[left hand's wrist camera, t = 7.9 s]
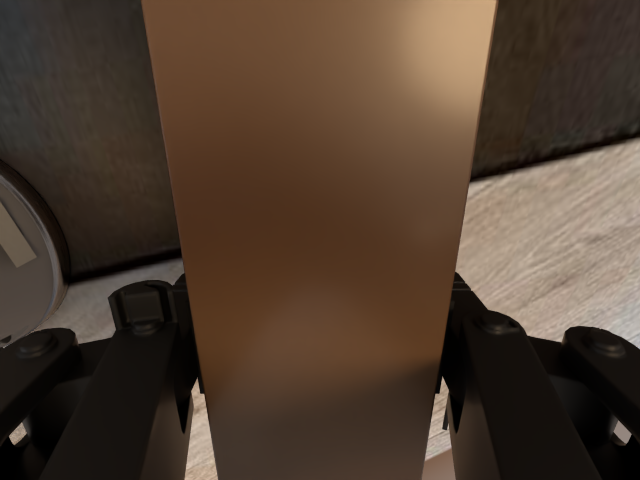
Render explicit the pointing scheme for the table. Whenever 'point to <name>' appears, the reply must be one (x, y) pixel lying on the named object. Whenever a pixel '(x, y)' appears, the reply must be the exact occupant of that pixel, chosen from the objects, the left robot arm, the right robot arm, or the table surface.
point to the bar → (319, 217)
